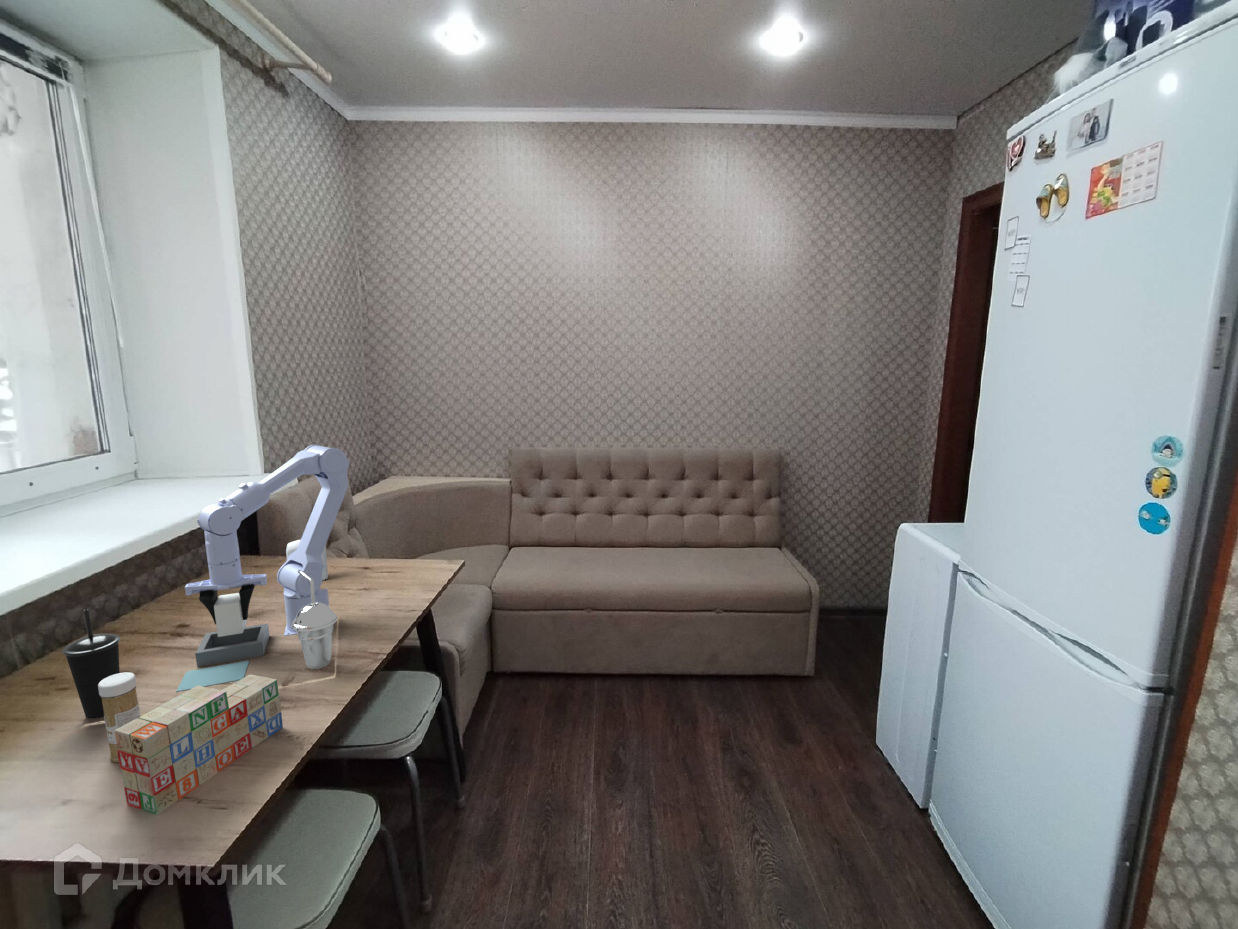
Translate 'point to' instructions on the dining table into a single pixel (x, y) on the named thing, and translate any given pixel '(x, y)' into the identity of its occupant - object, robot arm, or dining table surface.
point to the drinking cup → (92, 666)
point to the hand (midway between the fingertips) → (231, 620)
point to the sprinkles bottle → (118, 705)
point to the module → (229, 615)
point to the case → (233, 646)
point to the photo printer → (294, 545)
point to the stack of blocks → (194, 739)
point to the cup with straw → (315, 630)
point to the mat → (213, 675)
